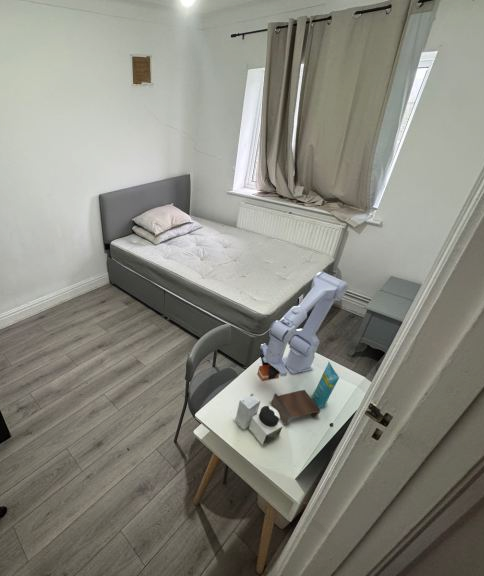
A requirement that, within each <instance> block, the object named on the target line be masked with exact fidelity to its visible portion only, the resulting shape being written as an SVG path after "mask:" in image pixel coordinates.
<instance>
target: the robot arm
mask: <svg viewBox="0 0 484 576" xmlns="http://www.w3.org/2000/svg"><path fill="white" fill-rule="evenodd" d="M310 288H311V289H310V290H309V291H308V293H307V294H306V296H305V297H304V298H303V299H302V301H300V302H299V304H298V305H294V306H292V307H291V308H290V309H289V310H288V311H287V312H286V313H285V314H284V315H283V316H282V317H281V318H280V319H277V320H275V321H273V322H272V323H271V325H270V327H269V328H268V333H269V334H268V337H269V341H268V345H267V343H261V344H260V346H259V349H260V350H261V351H262V353H261V354H259V357H260V359H261V364H262V365H267V364H270V365H272V366H270V367H268V368H269V379H272V380H275V379H274V378H275V377H276V376H277V375H278V374H279V373H280V375H279V377H286V376H287V374H288V371H287V370H289V372H290V374H292V375H293V374H297V373H298V374H299V373H303V372H308V371H312V370H313V368H312V365H313V363H314V360H315V358H316V356H315V354H316V353H317V351H318V348H319V345H320V342H321V341H320V340H319V338H318V336H317V333H318V331H319V329H320V327H321V325H322V323H323V321H324V320H325V318H326V317H327V315H328V313H329V311H330V310H331V307H332V306H333V305H334V303H335V302H336V301H338V302H340V301H341V300H342V299H343V298H344V296H345V294H346V293H347V290H348V288H349V283H348V282H347V281H344V280H342V279H340V278H337V277H335V276H333V275H331V274H329V273H327V272H325V271H319V272H318V273H317V274H316V275H314V277H313V279H312V282H311V287H310ZM311 310H312V311H311ZM309 311H311V313H310V315H309V316H308V313H309ZM306 319H307V320H306ZM305 320H306V322H305V324H303V325H304V326H303V327H302V328H299V326H301V324H302V323H303V322H304V321H305ZM287 345H288V349H289V351H288V354H287V356H286V357H285V358H284V354H285V352H286V351H285V350H286V348H287ZM262 365H261V366H262ZM286 368H287V370H286Z"/></svg>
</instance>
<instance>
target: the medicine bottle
mask: <svg viewBox="0 0 484 576" xmlns="http://www.w3.org/2000/svg"><path fill="white" fill-rule="evenodd" d="M280 420H281V418H280V415H279V413H278V411H277V410H276V409H275V408H274V407H273V406H272V405H271V406H270V405H264V406H262V407H261V408H260V411H259V413H257V415H255V416H253V417H252V419H251V423H250V426H249V427H248V429H249V431H250V432H251V433H252V434H253V436H254V437H255V438H256V439H257V441H258V442H259V443H260V444H261V446H265V445H267V444H269V443H271V442H273V441H274V440H276V439H278V438H279V437H280V434H281V432H282V429H283V426H284V424H282V423H281V422H280Z"/></svg>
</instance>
